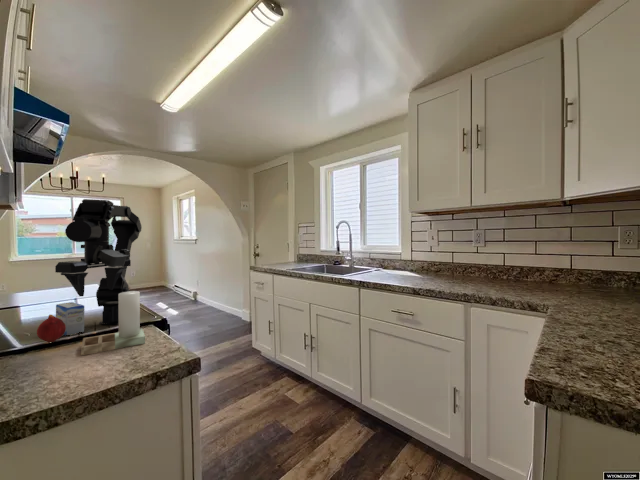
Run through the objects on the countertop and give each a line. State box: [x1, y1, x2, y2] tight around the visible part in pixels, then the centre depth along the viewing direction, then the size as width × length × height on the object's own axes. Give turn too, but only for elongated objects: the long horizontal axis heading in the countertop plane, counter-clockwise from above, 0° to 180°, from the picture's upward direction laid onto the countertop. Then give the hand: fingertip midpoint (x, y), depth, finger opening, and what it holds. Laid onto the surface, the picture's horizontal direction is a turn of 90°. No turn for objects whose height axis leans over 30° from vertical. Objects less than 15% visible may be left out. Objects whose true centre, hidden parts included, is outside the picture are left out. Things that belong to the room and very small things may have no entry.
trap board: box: [80, 327, 146, 356], centre depth 76 cm, size 14×8×2 cm, turn 128°
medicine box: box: [55, 301, 85, 336], centre depth 85 cm, size 8×4×9 cm, turn 62°
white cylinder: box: [118, 290, 141, 338], centre depth 78 cm, size 5×5×12 cm
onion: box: [36, 314, 66, 344], centre depth 77 cm, size 6×6×8 cm
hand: (97, 292), depth 82 cm, fingers open, 9 cm apart
